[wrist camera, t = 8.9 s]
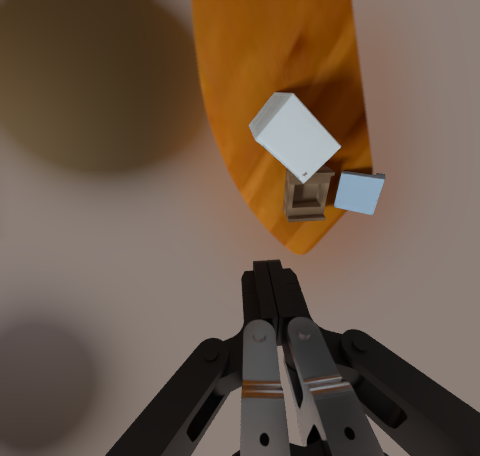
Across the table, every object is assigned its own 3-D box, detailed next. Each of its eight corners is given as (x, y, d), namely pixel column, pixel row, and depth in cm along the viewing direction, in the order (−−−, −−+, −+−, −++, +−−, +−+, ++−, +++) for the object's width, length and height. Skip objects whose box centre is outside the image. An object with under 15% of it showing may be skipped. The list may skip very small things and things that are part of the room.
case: (287, 165, 35) (293, 174, 31) (324, 163, 35) (335, 172, 31) (283, 209, 39) (288, 221, 36) (316, 208, 39) (324, 220, 36)
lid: (384, 179, 32) (386, 170, 35) (341, 173, 35) (346, 165, 38) (372, 215, 35) (374, 203, 39) (333, 206, 38) (339, 197, 41)
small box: (312, 131, 32) (344, 147, 23) (285, 160, 34) (304, 185, 26) (274, 90, 29) (294, 90, 20) (247, 125, 31) (254, 139, 23)
